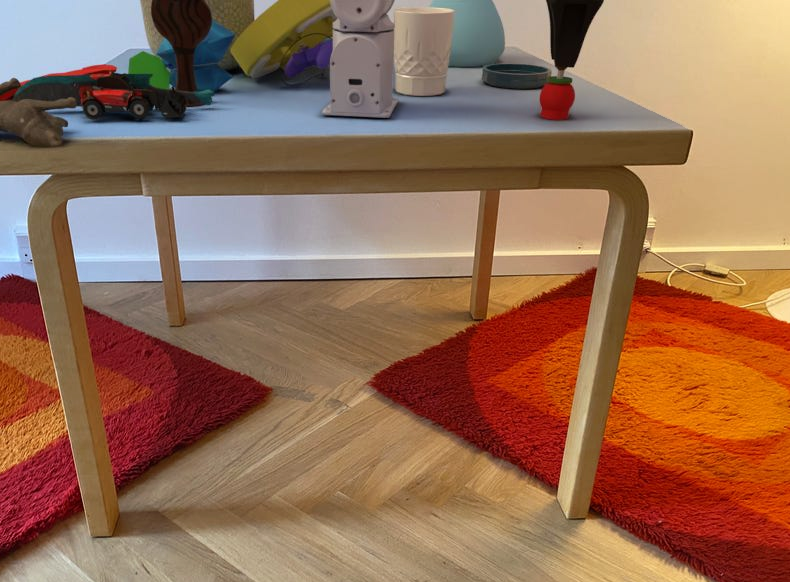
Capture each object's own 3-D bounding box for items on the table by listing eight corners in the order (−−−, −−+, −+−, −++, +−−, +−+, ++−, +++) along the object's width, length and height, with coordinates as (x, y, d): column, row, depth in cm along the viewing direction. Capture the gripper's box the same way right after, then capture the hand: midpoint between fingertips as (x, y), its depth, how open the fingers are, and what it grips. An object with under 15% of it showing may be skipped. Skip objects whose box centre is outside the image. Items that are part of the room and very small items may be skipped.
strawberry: (573, 121, 81) (590, 16, 75) (537, 119, 82) (552, 16, 76) (570, 113, 84) (586, 13, 79) (536, 112, 85) (549, 12, 79)
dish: (551, 91, 96) (553, 75, 95) (481, 88, 98) (482, 73, 97) (547, 78, 105) (549, 64, 104) (482, 76, 106) (483, 62, 105)
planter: (209, 82, 99) (197, -43, 91) (124, 70, 107) (107, -46, 99) (280, 65, 112) (275, -46, 104) (200, 56, 119) (190, -48, 111)
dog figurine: (6, 118, 78) (-36, 160, 73) (-18, 71, 73) (-64, 112, 69) (100, 137, 75) (62, 181, 71) (81, 88, 70) (39, 133, 66)
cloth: (146, 57, 102) (150, 74, 103) (58, 70, 104) (63, 86, 105) (69, 78, 79) (76, 99, 80) (-42, 94, 81) (-34, 114, 82)
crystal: (155, 29, 95) (238, 8, 92) (177, 95, 99) (257, 77, 97) (135, 36, 88) (224, 14, 86) (159, 106, 93) (244, 87, 90)
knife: (211, 74, 82) (216, 109, 86) (211, 68, 82) (216, 103, 86) (-8, 78, 79) (8, 114, 83) (-7, 72, 79) (9, 108, 84)
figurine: (224, 99, 90) (210, -64, 81) (213, 107, 86) (198, -64, 77) (168, 97, 91) (148, -65, 81) (155, 105, 87) (132, -65, 77)
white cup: (401, 98, 91) (405, 13, 86) (383, 87, 98) (385, 7, 93) (457, 95, 93) (464, 12, 88) (436, 85, 100) (441, 6, 94)
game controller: (258, 54, 96) (307, 32, 102) (281, 112, 100) (327, 88, 105) (303, 37, 89) (353, 14, 94) (327, 101, 93) (374, 75, 98)
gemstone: (159, 108, 91) (140, 121, 95) (178, 73, 93) (158, 88, 97) (118, 76, 87) (101, 91, 92) (139, 40, 89) (121, 57, 94)
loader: (187, 110, 83) (182, 68, 81) (182, 119, 79) (177, 75, 77) (84, 111, 83) (76, 69, 80) (73, 121, 79) (65, 76, 76)
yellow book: (262, 50, 112) (281, 78, 113) (213, 56, 94) (236, 89, 95) (343, -20, 105) (362, 10, 107) (307, -28, 87) (331, 8, 88)
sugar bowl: (504, 69, 111) (513, -13, 105) (410, 66, 113) (413, -15, 107) (502, 55, 124) (510, -19, 118) (417, 53, 126) (420, -21, 120)
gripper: (635, -79, 66) (607, 75, 73) (613, -77, 78) (591, 54, 85) (559, -79, 67) (538, 72, 74) (548, -77, 79) (532, 53, 86)
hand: (562, 63), depth 80 cm, fingers open, 5 cm apart
